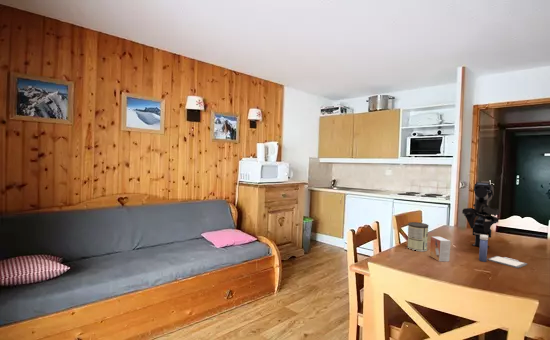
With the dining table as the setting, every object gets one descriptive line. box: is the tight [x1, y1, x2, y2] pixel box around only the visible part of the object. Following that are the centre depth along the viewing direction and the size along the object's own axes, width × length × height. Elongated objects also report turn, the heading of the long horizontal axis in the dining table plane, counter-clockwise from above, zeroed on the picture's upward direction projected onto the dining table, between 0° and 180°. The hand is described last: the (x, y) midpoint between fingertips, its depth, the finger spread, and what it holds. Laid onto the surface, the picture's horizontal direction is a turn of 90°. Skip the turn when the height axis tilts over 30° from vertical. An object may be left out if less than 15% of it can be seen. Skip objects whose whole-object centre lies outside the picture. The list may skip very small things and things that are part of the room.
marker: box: [478, 234, 489, 263], centre depth 151 cm, size 3×3×13 cm
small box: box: [429, 236, 452, 262], centre depth 152 cm, size 8×6×10 cm
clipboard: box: [487, 255, 528, 269], centre depth 150 cm, size 11×13×1 cm
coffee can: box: [406, 221, 430, 252], centre depth 168 cm, size 10×10×14 cm
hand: (478, 230), depth 163 cm, fingers open, 9 cm apart
